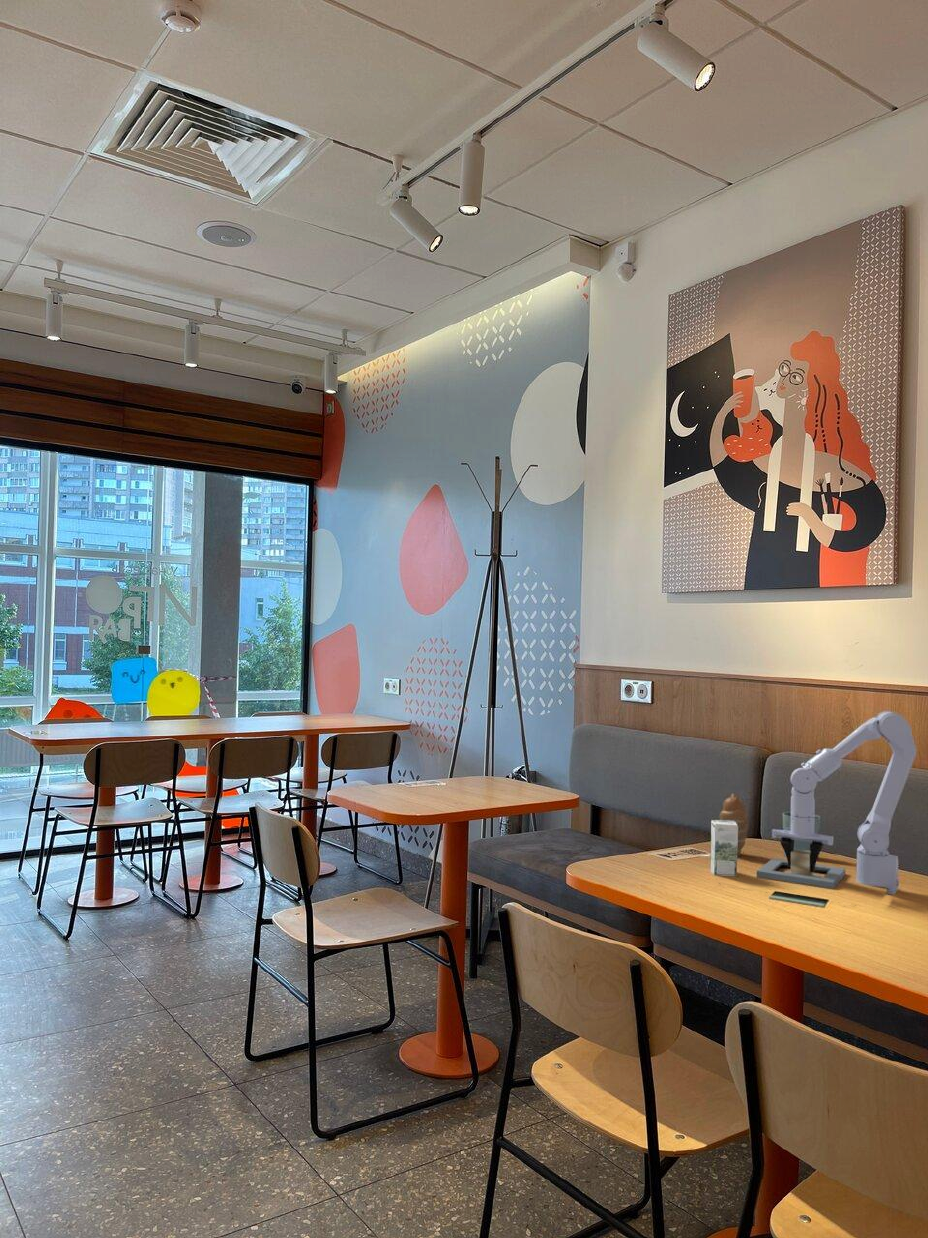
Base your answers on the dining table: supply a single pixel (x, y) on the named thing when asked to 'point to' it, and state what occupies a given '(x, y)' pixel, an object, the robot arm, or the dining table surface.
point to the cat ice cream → (736, 818)
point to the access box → (826, 882)
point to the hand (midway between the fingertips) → (801, 870)
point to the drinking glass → (797, 844)
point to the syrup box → (724, 848)
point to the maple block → (800, 862)
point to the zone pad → (798, 899)
